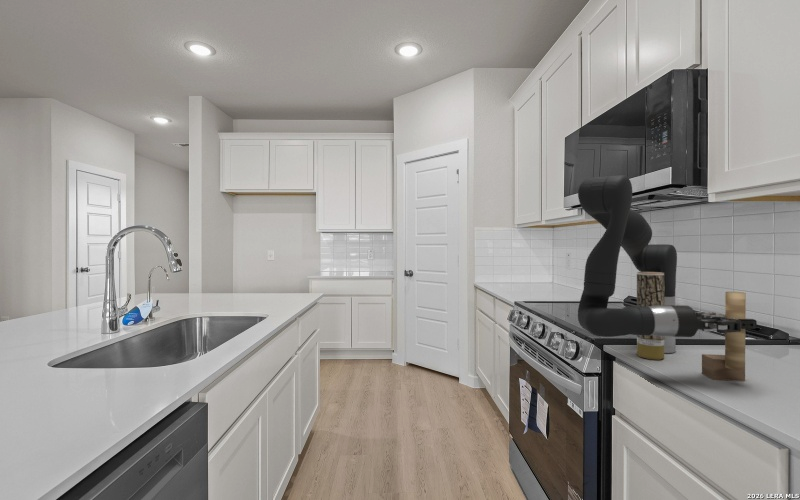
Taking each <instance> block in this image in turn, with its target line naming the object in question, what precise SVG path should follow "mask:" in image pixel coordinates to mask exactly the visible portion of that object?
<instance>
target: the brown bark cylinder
mask: <svg viewBox="0 0 800 500" xmlns="http://www.w3.org/2000/svg"><path fill="white" fill-rule="evenodd" d="M655 305H664V273H661V272H640V271H637V272H636V306H655ZM636 354H637V356H639V357H640V358H641V359H642V358H643V359H645V360H654V361H655V360H659V361H660V360H664V358H665V353H664V337H661V336H653V335H636Z"/></svg>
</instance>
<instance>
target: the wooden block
mask: <svg viewBox="0 0 800 500" xmlns="http://www.w3.org/2000/svg"><path fill="white" fill-rule="evenodd" d="M701 374H702V375H703V376H706V377H708V378H709V379H711V380H714V381H715V380H716V381H718V380H719V381H739V382H746V369H745V370H743V371H740V370H732V369H729V368H726V367H725V354H711V353H710V354H706V353H702V354H701Z"/></svg>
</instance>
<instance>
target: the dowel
mask: <svg viewBox="0 0 800 500" xmlns="http://www.w3.org/2000/svg"><path fill="white" fill-rule="evenodd" d="M724 295H725V297H724V300H725V305H724V306H725V307H724V310H725V312H724V313H725V314H724V315H725V317H726V318H737V319H746V316H747V315H746V310H747V308H746V304H747V303H746V301H747V300H746V292H742V291H725V294H724ZM724 336H725V337H724V347H725V348H724V355H725V367H726V368H729V369H732V370H740V371H743V370H745V371H746V329H741V332H730V333H724Z"/></svg>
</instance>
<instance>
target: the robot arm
mask: <svg viewBox="0 0 800 500" xmlns="http://www.w3.org/2000/svg"><path fill="white" fill-rule="evenodd" d="M631 181H632V180H630V178H629V177H628V175H627V176H626V175H624V174H619V175H605V176H594V177H590V178H587V179H584V180H583V181H582V182H581V183H580V185H579V186H578V190H577V197H578V198H577V199H578V202H579V204H580V206H581V208H582V209H583V211H584V212H586V214H587V215H589V216H590V217H591V218H593V219H594V220H595V221H596V222H597V223H599V224H600V225H601V226H602V227H603V228H604V229H605V231H604V233H603V234H602V236H601V238H600V239H599V240H598V242H597V243H596V245H595V246H594V247H593V249H592V250H591V251H590V253H589V254H588V257H587V259H586V262H585V267H584V279H583V289H582V290H583V291H582V293H581V296H580V301H579V304H578V309H577V320H578V323H579V325H580V326H581V328H582V329H584V330H585V331H587V332H588V333H589V334H591V335H593V336H597V337H603V338H604V337H605V338H611V337H612V338H613V337H622V336H628V335H633V336H637V335H653V336H661V337H664V354H671V353H675V352H676V338H692V337H694V336H695V335H696V334H697V332H698V330H701V331H702V332H712V331H713V332H716V333H718V334H725V333H730V332H741V329H745V330H756V329H757V327H758V326H757V325H758V323H757V320H756V319H754V318H745V319H737V318H726V317H725V314H722V313H716V312H705V311H704V312H703V311H695V310H694V309H693V308H692V306H689V305H676V288H677V287H676V286H677V263H678V254H677V249H676V247H675V246H674V245H673V244H669V243H668V244H663V243H661V244H660V243H659V244H649V243H650V242H651V240H652V237H653V230H652V227H651V226H650V224H649V223H648V222H647V221H648V220H646V219H645V217H644V216H643V215H642V214H641V213H639V212H637V211H635V210H633V209H631V206H632V199H633V186H632V185H633V184H632V182H631ZM621 248H622V249H623V250H624V251H625V253H626V254H627V256H628V257H629V258H630V260H631V262H632V263H633V266H634V267H635V269H636V270H638V272H661V273H664V305H655V306H637V305H635V306H633V305H630V306H629V305H628V306H625V307H622V308H611V307H610V308H609V307H608V305H609V299H610V297H612V296H613V295H614V294H615V290H616V281H617V274H618V273H617V270H618V261H619V255H620V251H621Z"/></svg>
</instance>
